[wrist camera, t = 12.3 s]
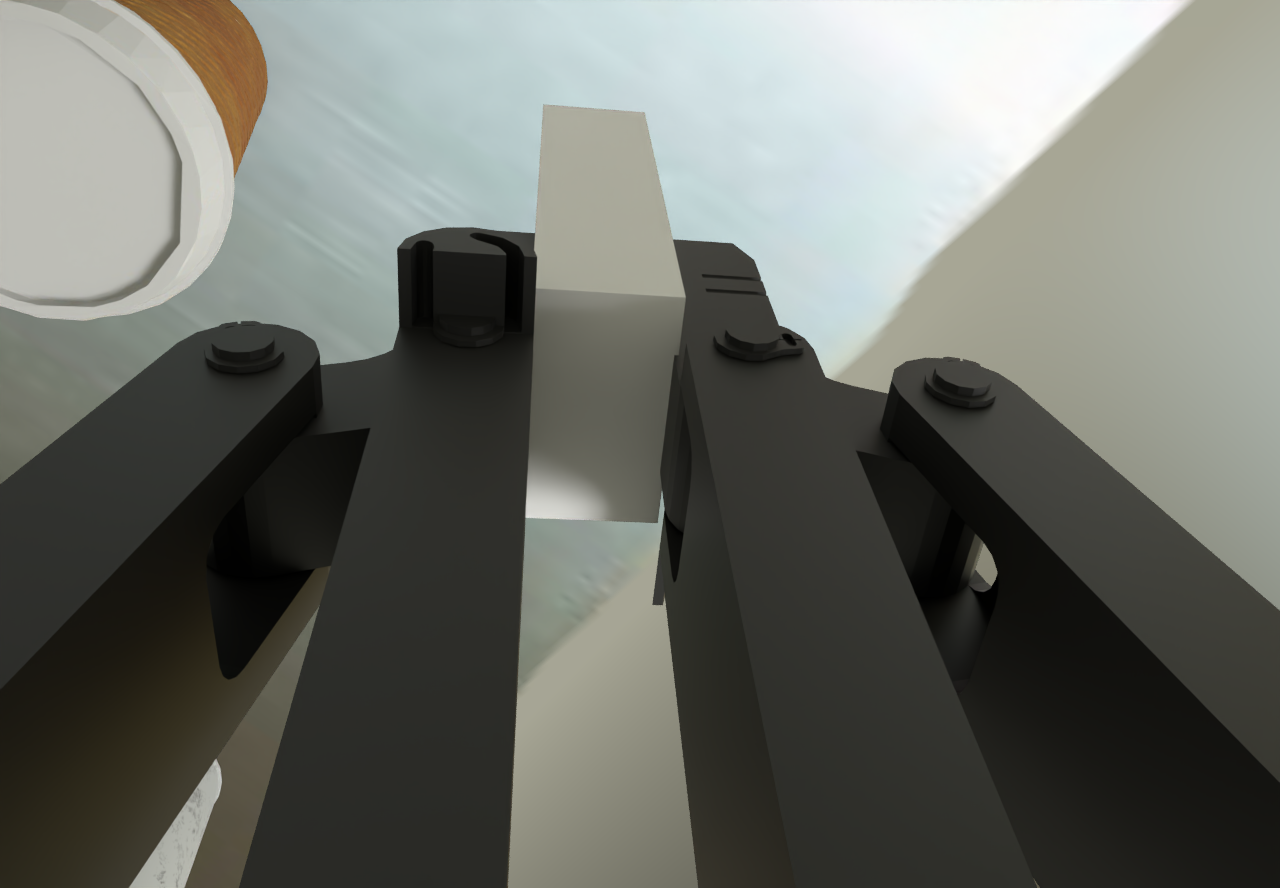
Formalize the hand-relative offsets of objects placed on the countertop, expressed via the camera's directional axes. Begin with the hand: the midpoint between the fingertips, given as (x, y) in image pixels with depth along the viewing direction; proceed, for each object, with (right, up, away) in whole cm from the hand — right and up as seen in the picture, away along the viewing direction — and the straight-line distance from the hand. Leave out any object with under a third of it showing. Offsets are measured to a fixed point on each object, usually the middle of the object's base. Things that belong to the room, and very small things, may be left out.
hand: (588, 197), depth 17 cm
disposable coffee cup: (-16, +10, +22) cm, 29 cm away
